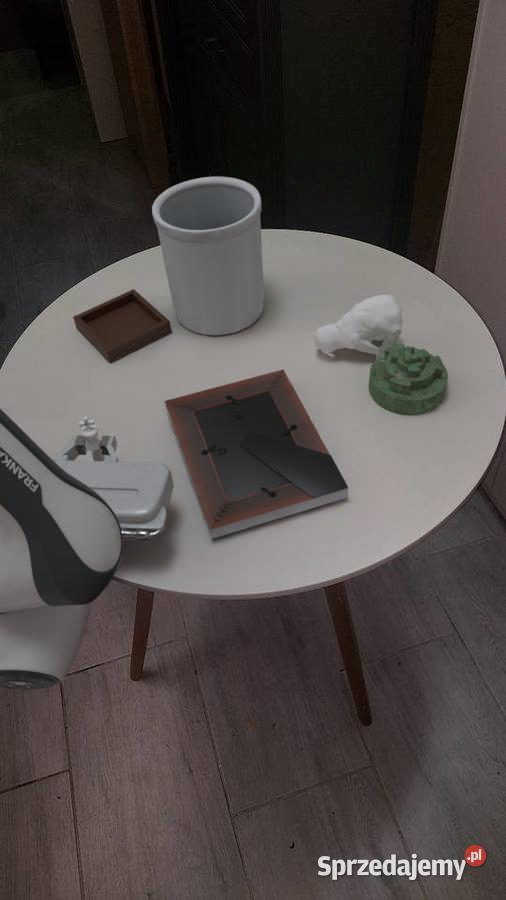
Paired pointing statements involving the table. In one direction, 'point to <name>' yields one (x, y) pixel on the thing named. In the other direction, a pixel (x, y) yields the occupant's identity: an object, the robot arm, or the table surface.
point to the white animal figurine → (363, 327)
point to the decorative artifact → (407, 380)
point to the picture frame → (253, 453)
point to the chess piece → (91, 438)
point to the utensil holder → (212, 253)
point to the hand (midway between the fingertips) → (95, 438)
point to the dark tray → (122, 325)
